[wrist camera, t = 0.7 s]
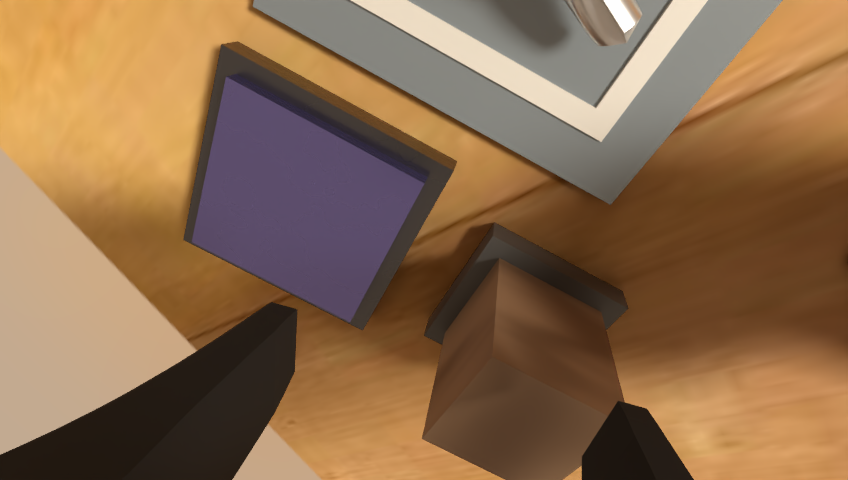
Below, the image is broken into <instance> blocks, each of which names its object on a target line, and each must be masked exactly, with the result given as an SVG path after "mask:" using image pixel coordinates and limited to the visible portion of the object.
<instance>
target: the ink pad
mask: <svg viewBox="0 0 848 480" xmlns="http://www.w3.org/2000/svg"><path fill="white" fill-rule="evenodd" d="M456 163H457V161H455V160H454V159H452V158H450V157H448V156H446V155H444V154H443V153H441V152H439V151H437V150H435V149H434V148H432V147H430V146H428V145H426V144H424V143H423V142H421V141H419V140H417V139H415V138H413V137H412V136H410V135H408V134H406V133H404V132H402V131H401V130H399V129H397V128H395V127H393V126H391V125H390V124H388V123H386V122H384V121H382V120H380V119H379V118H377V117H375V116H373V115H371V114H369V113H368V112H366V111H364V110H362V109H360V108H358V107H357V106H355V105H353V104H351V103H349V102H347V101H346V100H344V99H342V98H340V97H338V96H337V95H335V94H333V93H331V92H329V91H327V90H326V89H324V88H322V87H320V86H318V85H316V84H315V83H313V82H311V81H309V80H307V79H305V78H304V77H302V76H300V75H298V74H296V73H294V72H293V71H291V70H289V69H287V68H285V67H283V66H282V65H280V64H278V63H276V62H274V61H272V60H271V59H269V58H267V57H265V56H263V55H261V54H260V53H258V52H256V51H254V50H252V49H250V48H249V47H247V46H245V45H243V44H241V43H240V42H232V43H227V44H221V49H220V55H219V60H218V65H217V70H216V75H215V80H214V85H213V91H212V96H211V101H210V106H209V111H208V116H207V121H206V127H205V132H204V137H203V142H202V147H201V152H200V157H199V163H198V168H197V173H196V178H195V183H194V188H193V193H192V199H191V204H190V209H189V214H188V219H187V224H186V229H185V235H184V240H185V241H187V242H189V243H191V244H193V245H195V246H197V247H199V248H201V249H202V250H204V251H206V252H208V253H210V254H212V255H214V256H216V257H218V258H220V259H222V260H224V261H226V262H228V263H230V264H232V265H234V266H236V267H238V268H240V269H242V270H244V271H246V272H248V273H250V274H252V275H254V276H256V277H258V278H260V279H262V280H264V281H266V282H268V283H270V284H272V285H274V286H276V287H278V288H280V289H282V290H284V291H286V292H288V293H290V294H292V295H294V296H295V297H297V298H299V299H301V300H303V301H305V302H307V303H309V304H311V305H313V306H315V307H317V308H319V309H321V310H323V311H325V312H327V313H329V314H331V315H333V316H335V317H337V318H339V319H341V320H343V321H345V322H347V323H349V324H351V325H353V326H355V327H357V328H359V329H361V330H363V329H364V327H365V326H366V324H367V322H368V320H369V318H370V317H371V315H372V313H373V311H374V310H375V308H376V306H377V304H378V303H379V301H380V299H381V297H382V296H383V294H384V292H385V290H386V289H387V287H388V285H389V283H390V282H391V280H392V278H393V276H394V275H395V273H396V271H397V269H398V268H399V266H400V264H401V262H402V261H403V259H404V257H405V255H406V253H407V252H408V250H409V248H410V246H411V245H412V243H413V241H414V239H415V238H416V236H417V234H418V232H419V231H420V229H421V227H422V225H423V224H424V222H425V220H426V218H427V217H428V215H429V213H430V211H431V210H432V208H433V206H434V204H435V203H436V201H437V199H438V197H439V195H440V194H441V192H442V190H443V188H444V187H445V185H446V183H447V181H448V180H449V178H450V176H451V174H452V173H453V171H454V168H455V166H456Z"/></svg>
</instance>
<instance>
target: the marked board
mask: <svg viewBox="0 0 848 480" xmlns="http://www.w3.org/2000/svg"><path fill="white" fill-rule="evenodd" d="M636 2H637V4H638V6H639V8H640V10H641V12H642V16H641V18H640V20H639V22H638V23H637V25H636V27H635V29H634V31H633V33H632V34H631V36H630V38H629V40H628V42H627V43H624V44H618V45H611V46H597V45H596V44H595V43H594V42H593V41H592V40H591V38H590V37H589V36H588V35H587V33H586V32H585V31H584V29H583V28H582V26H581V25H580V23H579V22H578V20H577V19H576V17H575V16H574V14H573V13H572V11H571V10H570V8H569V7H568V5H567V4H566V2H565V1H564V0H254V2H253V7H254V8H256V9H258V10H260V11H262V12H263V13H265V14H267V15H269V16H271V17H272V18H274V19H276V20H278V21H280V22H281V23H283V24H285V25H287V26H289V27H291V28H292V29H294V30H296V31H298V32H300V33H301V34H303V35H305V36H307V37H309V38H310V39H312V40H314V41H316V42H318V43H319V44H321V45H323V46H325V47H327V48H328V49H330V50H332V51H334V52H336V53H337V54H339V55H341V56H343V57H345V58H346V59H348V60H350V61H352V62H354V63H355V64H357V65H359V66H361V67H363V68H364V69H366V70H368V71H370V72H372V73H374V74H375V75H377V76H379V77H381V78H383V79H384V80H386V81H388V82H390V83H392V84H393V85H395V86H397V87H399V88H401V89H402V90H404V91H406V92H408V93H410V94H411V95H413V96H415V97H417V98H419V99H420V100H422V101H424V102H426V103H428V104H429V105H431V106H433V107H435V108H437V109H438V110H440V111H442V112H444V113H446V114H447V115H449V116H451V117H453V118H455V119H457V120H458V121H460V122H462V123H464V124H466V125H467V126H469V127H471V128H473V129H475V130H476V131H478V132H480V133H482V134H484V135H485V136H487V137H489V138H491V139H493V140H494V141H496V142H498V143H500V144H502V145H503V146H505V147H507V148H509V149H511V150H512V151H514V152H516V153H518V154H520V155H521V156H523V157H525V158H527V159H529V160H530V161H532V162H534V163H536V164H538V165H539V166H541V167H543V168H545V169H547V170H549V171H550V172H552V173H554V174H556V175H558V176H559V177H561V178H563V179H565V180H567V181H568V182H570V183H572V184H574V185H576V186H577V187H579V188H581V189H583V190H585V191H586V192H588V193H590V194H592V195H594V196H595V197H597V198H599V199H601V200H603V201H604V202H606V203H608V204H610V205H611V204H612V203H613V202H614V200H615V199H616V198H617V197H618V196H619V194H620V193H621V192H622V191H623V190H624V188H625V187H626V186H627V185H628V184H629V182H630V181H631V180H632V179H633V178H634V177H635V175H636V174H637V173H638V172H639V171H640V169H641V168H642V167H643V166H644V165H645V163H646V162H647V161H648V160H649V159H650V157H651V156H652V155H653V154H654V153H655V152H656V150H657V149H658V148H659V147H660V146H661V144H662V143H663V142H664V141H665V140H666V138H667V137H668V136H669V135H670V134H671V132H672V131H673V130H674V129H675V128H676V127H677V125H678V124H679V123H680V122H681V121H682V119H683V118H684V117H685V116H686V115H687V113H688V112H689V111H690V110H691V109H692V107H693V106H694V105H695V104H696V103H697V102H698V100H699V99H700V98H701V97H702V96H703V94H704V93H705V92H706V91H707V90H708V88H709V87H710V86H711V85H712V84H713V82H714V81H715V80H716V79H717V78H718V77H719V75H720V74H721V73H722V72H723V71H724V69H725V68H726V67H727V66H728V65H729V63H730V62H731V61H732V60H733V59H734V58H735V56H736V55H737V54H738V53H739V52H740V50H741V49H742V48H743V47H744V46H745V44H746V43H747V42H748V41H749V40H750V38H751V37H752V36H753V35H754V34H755V33H756V31H757V30H758V29H759V28H760V27H761V25H762V24H763V23H764V22H765V21H766V19H767V18H768V17H769V16H770V15H771V13H772V12H773V11H774V10H775V9H776V8H777V6H778V5H779V4H780V3H781V2H782V0H636Z"/></svg>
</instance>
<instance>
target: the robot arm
mask: <svg viewBox="0 0 848 480" xmlns="http://www.w3.org/2000/svg"><path fill="white" fill-rule="evenodd" d="M296 327H297V309H294V308H290V307H287V306H283V305H280V304H276V303H273V302H271V303H270V304H268V305H266V306H265V307H263V308H262V309H260V310H259V311H257V312H256V313H254V314H253V315H251V316H250V317H248V318H247V319H245V320H244V321H242V322H241V323H239V324H238V325H236V326H235V327H233V328H232V329H230V330H229V331H227V332H226V333H224V334H223V335H221V336H220V337H218V338H217V339H215V340H214V341H212V342H211V343H209V344H207V345H206V346H204V347H203V348H201V349H199V350H198V351H196V352H195V353H193V354H192V355H190V356H188V357H187V358H185V359H184V360H182V361H181V362H179V363H177V364H176V365H174V366H172V367H171V368H169V369H167V370H166V371H164V372H162V373H160V374H159V375H157V376H155V377H154V378H152V379H150V380H148V381H147V382H145V383H143V384H141V385H140V386H138V387H136V388H135V389H133V390H131V391H129V392H127V393H126V394H124V395H122V396H120V397H118V398H117V399H115V400H113V401H111V402H109V403H107V404H105V405H103V406H102V407H100V408H98V409H96V410H94V411H92V412H90V413H88V414H86V415H84V416H82V417H80V418H78V419H76V420H74V421H72V422H70V423H68V424H66V425H64V426H62V427H60V428H58V429H56V430H54V431H51V432H49V433H47V434H45V435H43V436H41V437H39V438H36V439H34V440H32V441H30V442H28V443H26V444H24V445H21V446H19V447H17V448H15V449H12V450H10V451H8V452H6V453H3V454H1V455H0V480H232V479H233V478H234V476H235V474H236V473H237V471H238V470H239V468H240V466H241V465H242V464H243V462H244V460H245V459H246V457H247V456H248V454H249V453H250V451H251V450H252V448H253V446H254V445H255V443H256V442H257V440H258V439H259V437H260V435H261V434H262V432H263V430H264V429H265V427H266V426H267V424H268V423H269V421H270V419H271V418H272V416H273V415H274V413H275V411H276V409H277V407H278V405H279V403H280V401H281V399H282V397H283V395H284V393H285V391H286V389H287V387H288V385H289V382H290V380H291V378H292V376H293V374H294V372H295V351H296ZM582 480H694V479H693V478H692V476H691V475H690V473H689V472H688V470H687V469H686V467H685V466H684V464H683V463H682V461H681V460H680V458H679V456H678V455H677V453H676V452H675V450H674V449H673V447H672V446H671V444H670V443H669V441H668V440H667V438H666V437H665V435H664V433H663V432H662V430H661V429H660V427H659V426H658V424H657V423H656V421H655V420H654V418H653V417H652V415H651V414H650V413H649V411H648V410H647V409H646V408H642V407H639V406H635V405H632V404H628V403H625V402H621V401H618V402H617V403H616V405H615V406H614V408H613V409H612V411H611V412H610V414H609V415H608V417H607V418H606V420H605V422H604V423H603V425H602V426H601V428H600V429H599V431H598V432H597V434H596V435H595V437H594V438H593V440H592V442H591V443H590V445H589V446H588V448H587V449H586V451H585V452H584V454H583V455H582Z"/></svg>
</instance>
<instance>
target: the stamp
mask: <svg viewBox="0 0 848 480" xmlns="http://www.w3.org/2000/svg"><path fill="white" fill-rule="evenodd" d="M627 309H628V306H627V303H626V300H625V297H624V294H623V291H621V290H619V289H617V288H615V287H613V286H612V285H610V284H608V283H606V282H604V281H602V280H600V279H599V278H597V277H595V276H593V275H591V274H589V273H587V272H586V271H584V270H582V269H580V268H578V267H576V266H574V265H573V264H571V263H569V262H567V261H565V260H563V259H561V258H560V257H558V256H556V255H554V254H552V253H550V252H548V251H547V250H545V249H543V248H541V247H539V246H537V245H535V244H534V243H532V242H530V241H528V240H526V239H524V238H522V237H521V236H519V235H517V234H515V233H513V232H511V231H509V230H508V229H506V228H504V227H502V226H500V225H498V224H496V223H495V222H494V224H493V225H492V227H491V228H490V230H489V231H488V233H487V234H486V236H485V237H484V239H483V240H482V242H481V243H480V244H479V246H478V247H477V249H476V250H475V252H474V253H473V255H472V256H471V258H470V259H469V261H468V262H467V264H466V265H465V267H464V268H463V269H462V271H461V272H460V274H459V275H458V277H457V278H456V280H455V281H454V283H453V284H452V286H451V287H450V289H449V290H448V292H447V293H446V294H445V296H444V297H443V299H442V300H441V302H440V303H439V305H438V306H437V308H436V309H435V311H434V312H433V314H432V315H431V317H430V318H429V319H428V323H427V327H426V330H425V334H424V336H426V337H428V338H430V339H432V340H434V341H436V342H438V343H440V344H442V349H441V353H440V358H439V362H438V367H437V372H436V376H435V381H434V386H433V390H432V395H431V399H430V404H429V409H428V413H427V418H426V422H425V427H424V432H423V436H422V439H423V440H425V441H427V442H429V443H432V444H434V445H436V446H438V447H440V448H442V449H444V450H446V451H448V452H450V453H452V454H454V455H456V456H458V457H460V458H462V459H464V460H466V461H468V462H470V463H472V464H474V465H477V466H479V467H481V468H483V469H485V470H487V471H489V472H491V473H493V474H495V475H497V476H499V477H501V478H503V479H505V480H563V479H564V478H565V477H567V476H568V475H569V474H571V473H572V472H573V471H575V470H576V469H577V468H579V467H580V466H581V465H582V455H583V454H584V452H585V451H586V449H587V448H588V446H589V445H590V443H591V442H592V440H593V438H594V437H595V435H596V434H597V432H598V431H599V429H600V428H601V426H602V425H603V423H604V422H605V420H606V418H607V417H608V415H609V414H610V412H611V411H612V409H613V408H614V406H615V405H616V403H617V402H618V401H621V402H624V398H623V394H622V390H621V386H620V382H619V379H618V375H617V371H616V367H615V363H614V359H613V355H612V352H611V348H610V344H609V340H608V336H607V332H606V330H607V329H608V328H609V327H610V326H611V325H612V324H613V323H614V322H615V321H616V320H617V319H618V318H619V317H620V316H621V315H622V314H623V313H624V312H625V311H626V310H627Z"/></svg>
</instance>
